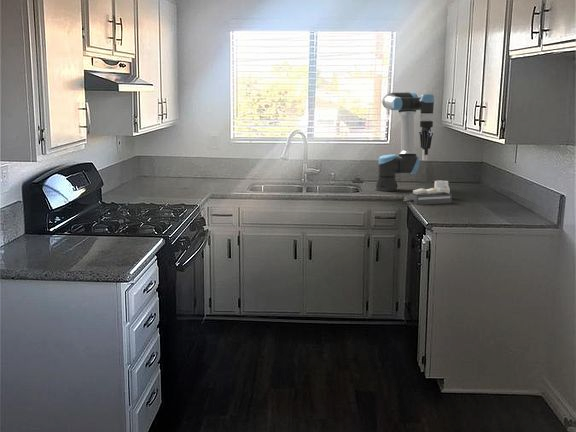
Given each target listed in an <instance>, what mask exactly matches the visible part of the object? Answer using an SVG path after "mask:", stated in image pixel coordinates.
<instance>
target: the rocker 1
mask: <svg viewBox="0 0 576 432" xmlns="http://www.w3.org/2000/svg"><path fill="white" fill-rule="evenodd" d="M424 192H426V189H425V188H422V187H421V188H417V189H413V190H412V193H414V194H420V193H424Z"/></svg>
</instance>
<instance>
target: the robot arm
mask: <svg viewBox="0 0 576 432" xmlns="http://www.w3.org/2000/svg"><path fill="white" fill-rule="evenodd" d="M381 101H382V102H381V103H382V106H383V107H384V108H385V109H386V110H390V111H398V115H400V152H399V153H398V156H397V154H393V153H392V154H384V155H380V156H379V158H378V164H377V165H378V171H377V180H376V183H375V187H374V189H375V190H376V191H380V192H382V191H383V192H395V191H398V190H399V185H398V182H397V178H396V176H397V175H413V174H416V173H417V172H418V170H419V169H420V167H419V166H420V157H419V156H418V155H417V152H416V151H415V115H416V113H417V111H420V115H419V116H420V118H419V119H420V121H419V128H421V131H419V132H418V135H419V142H420V143H419V144H420V148H421V149H422V154H421V155H422V159H421V160H422V161H428V156H429V153H428V152H429V149H431V146H432V140H433V135H434V132H432V130H431V128H433V127H434V121H433V120H434V110H435V109H434V106H435V96H434V94H428V93H427V94H425V93H424V94H423V93H422V94H421V96H418V94H417V93H415V92H410V91H409V92H408V91H407V92H391V93H387V94H386V95H384V97H382V100H381Z"/></svg>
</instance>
